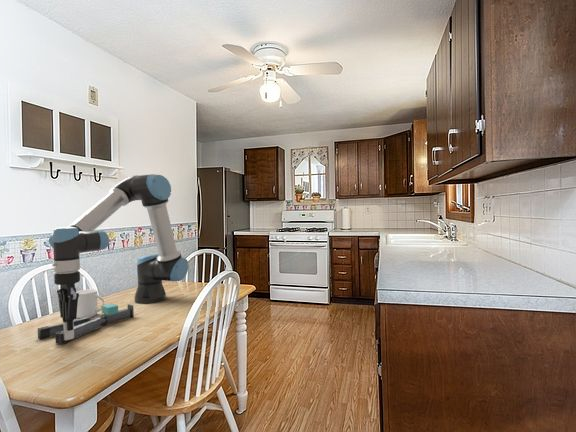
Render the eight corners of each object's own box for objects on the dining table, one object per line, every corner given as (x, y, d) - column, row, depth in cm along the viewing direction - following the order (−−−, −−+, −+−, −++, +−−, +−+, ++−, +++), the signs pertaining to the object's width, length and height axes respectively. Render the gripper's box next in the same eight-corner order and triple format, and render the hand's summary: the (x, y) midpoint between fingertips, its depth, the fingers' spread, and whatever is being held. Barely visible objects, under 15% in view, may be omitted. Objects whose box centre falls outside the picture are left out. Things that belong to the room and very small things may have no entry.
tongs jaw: (96, 327, 135) (96, 318, 135) (101, 327, 134) (101, 318, 134) (55, 343, 119) (55, 333, 119) (61, 344, 118) (61, 334, 118)
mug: (98, 318, 147) (98, 293, 147) (70, 318, 147) (70, 294, 146) (109, 312, 155) (108, 288, 155) (82, 312, 155) (82, 289, 155)
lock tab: (111, 310, 145) (111, 303, 144) (118, 312, 141) (118, 305, 141) (101, 312, 141) (101, 305, 141) (108, 315, 138) (108, 307, 138)
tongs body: (127, 315, 151) (127, 303, 150) (134, 317, 147) (134, 305, 147) (37, 337, 125) (37, 323, 125) (43, 341, 121) (43, 327, 121)
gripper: (48, 271, 120) (49, 338, 120) (61, 275, 112) (63, 346, 112) (71, 268, 126) (73, 331, 126) (86, 271, 118) (88, 339, 118)
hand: (68, 338), depth 119 cm, fingers closed
